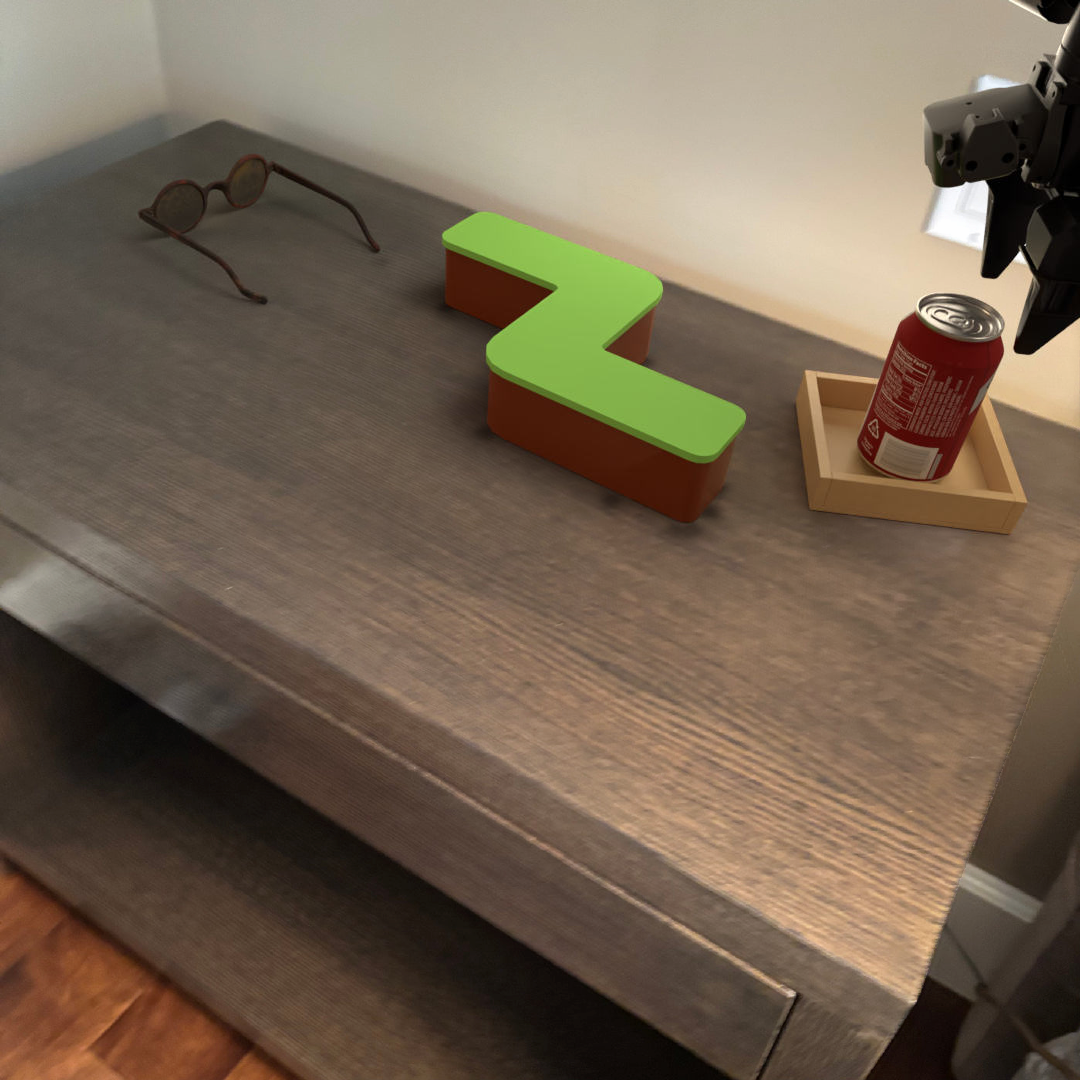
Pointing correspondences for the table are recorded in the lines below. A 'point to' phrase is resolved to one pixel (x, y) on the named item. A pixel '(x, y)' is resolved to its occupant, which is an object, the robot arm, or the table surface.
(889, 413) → the soda can
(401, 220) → the table surface
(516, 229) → the planter
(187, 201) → the eyeglasses
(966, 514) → the tray
